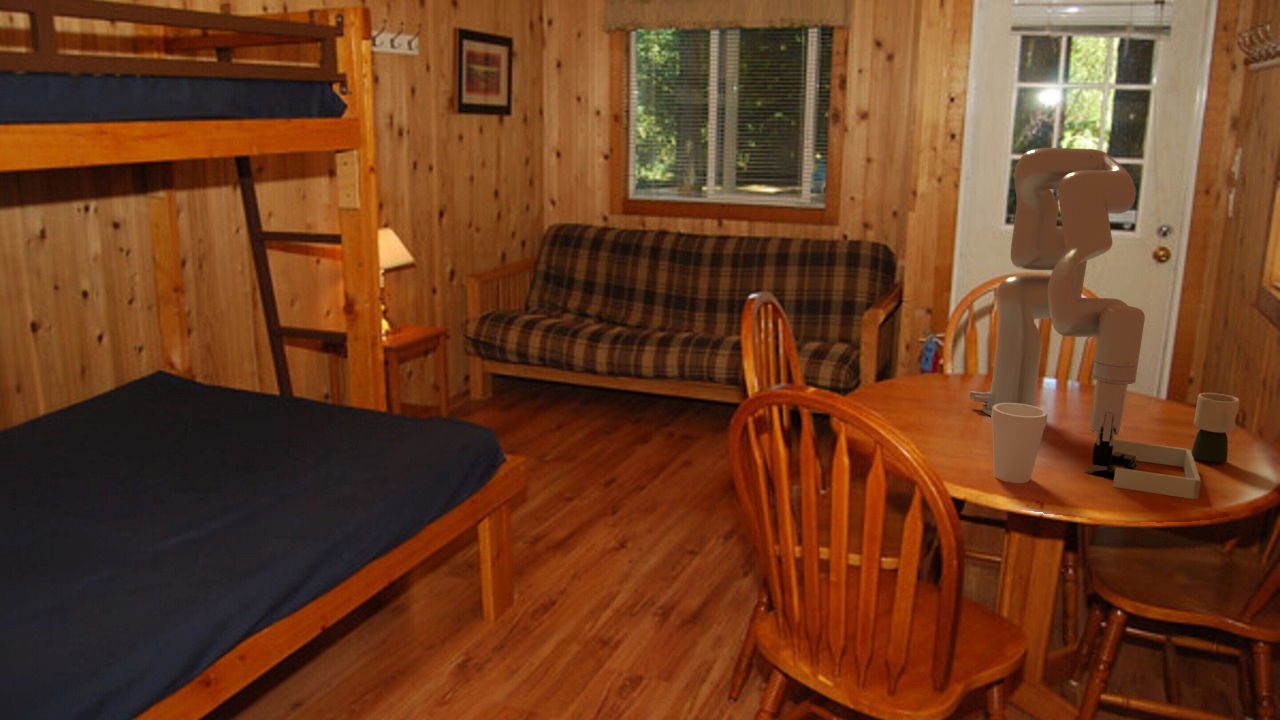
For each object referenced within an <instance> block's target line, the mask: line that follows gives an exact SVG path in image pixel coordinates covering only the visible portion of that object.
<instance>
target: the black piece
mask: <svg viewBox="0 0 1280 720" xmlns="http://www.w3.org/2000/svg"><path fill="white" fill-rule="evenodd" d="M1135 459H1136V456H1134V455H1129V454H1125V453H1121V452H1114V453H1113V454H1111V457H1110V458H1109V460H1108V462H1107V464H1108V467H1104V466H1098V465H1093V466H1091V467H1090V468H1088V469H1086V470H1085V471H1083V474H1086V475H1090V476H1094V477H1098V478H1101V479H1102V478H1103V479H1107V480H1110V481H1114V475H1115V469H1116V468H1117V467H1120V468H1124V469H1130V470H1137V469H1136V468H1138V464H1137V462H1138V461H1136V460H1135ZM1115 466H1117V467H1115ZM1114 467H1115V468H1114Z"/></svg>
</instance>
